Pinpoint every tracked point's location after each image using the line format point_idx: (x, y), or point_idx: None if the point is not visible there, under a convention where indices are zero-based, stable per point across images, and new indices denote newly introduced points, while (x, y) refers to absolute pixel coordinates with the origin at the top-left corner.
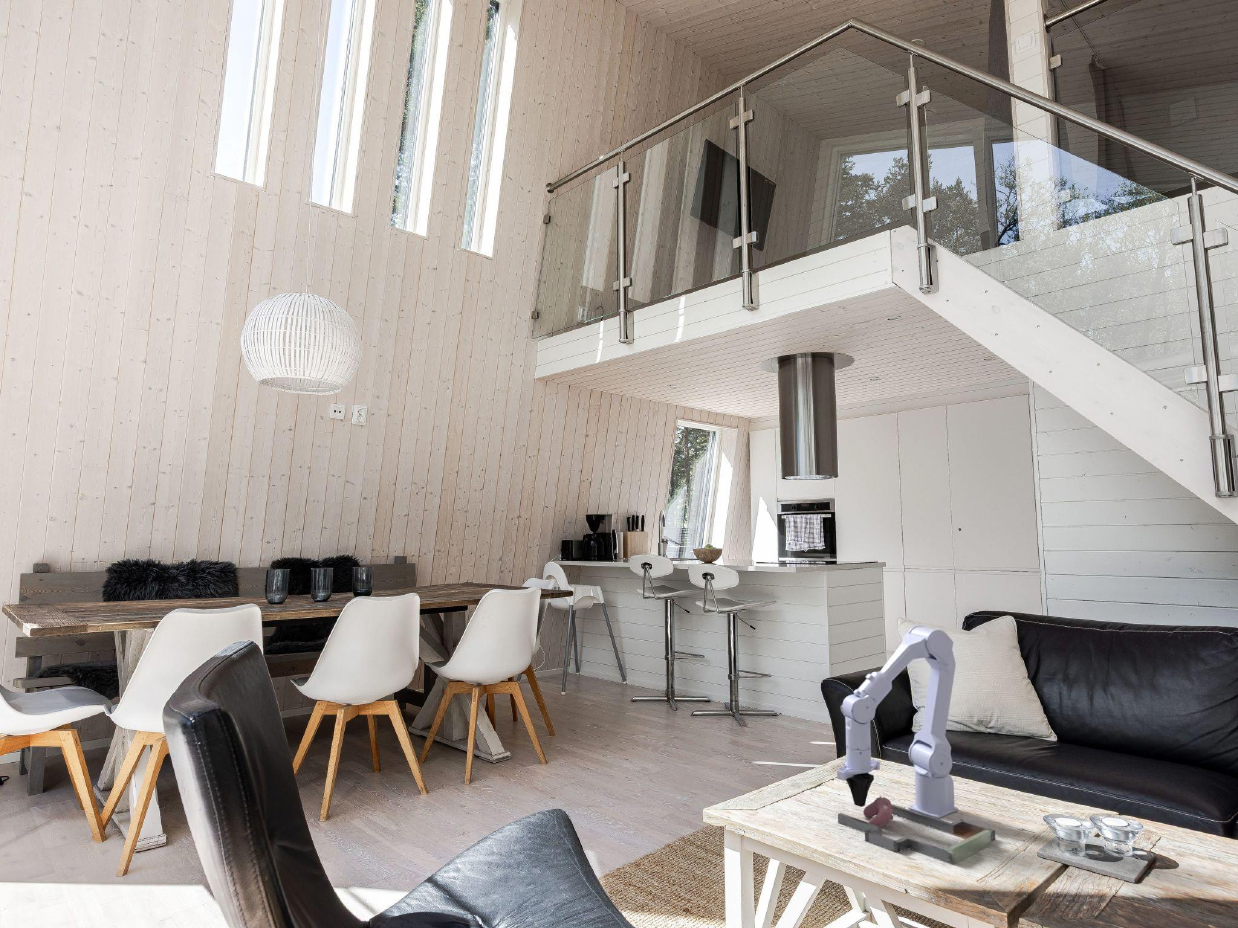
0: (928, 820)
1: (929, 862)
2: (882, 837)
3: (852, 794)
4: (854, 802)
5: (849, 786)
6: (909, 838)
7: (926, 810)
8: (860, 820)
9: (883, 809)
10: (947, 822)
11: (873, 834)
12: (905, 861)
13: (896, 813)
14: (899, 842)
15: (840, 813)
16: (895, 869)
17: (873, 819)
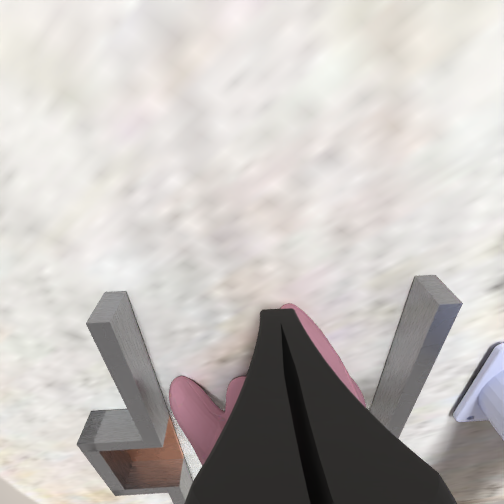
0: None
1: (154, 495)
2: (101, 473)
3: (254, 355)
4: (260, 320)
5: (233, 407)
6: (173, 491)
7: (482, 401)
8: (136, 398)
9: None
10: None
11: (89, 459)
12: (105, 483)
13: (392, 361)
14: (125, 493)
15: (105, 324)
16: (51, 490)
17: (179, 424)
